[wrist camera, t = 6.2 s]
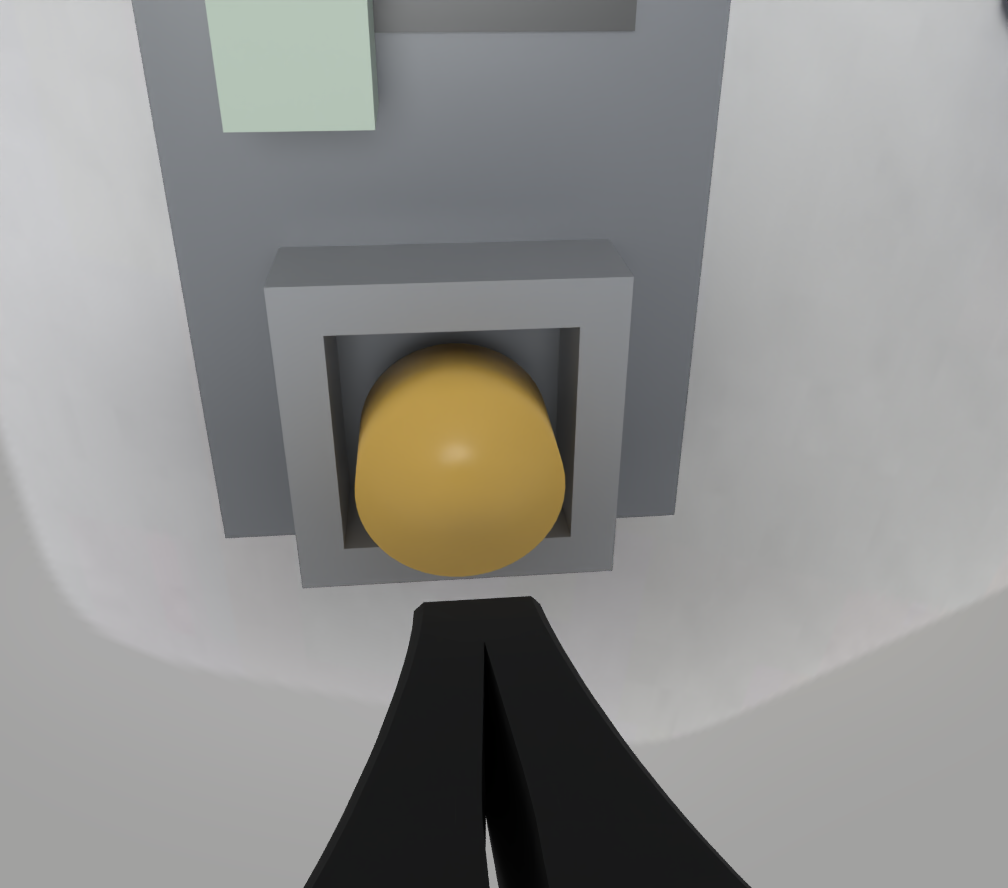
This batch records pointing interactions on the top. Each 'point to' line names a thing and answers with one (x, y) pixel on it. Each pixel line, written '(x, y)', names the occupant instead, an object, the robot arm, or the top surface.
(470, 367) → the amber button
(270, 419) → the control panel
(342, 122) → the sage green cuboid
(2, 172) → the top surface
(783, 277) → the top surface
